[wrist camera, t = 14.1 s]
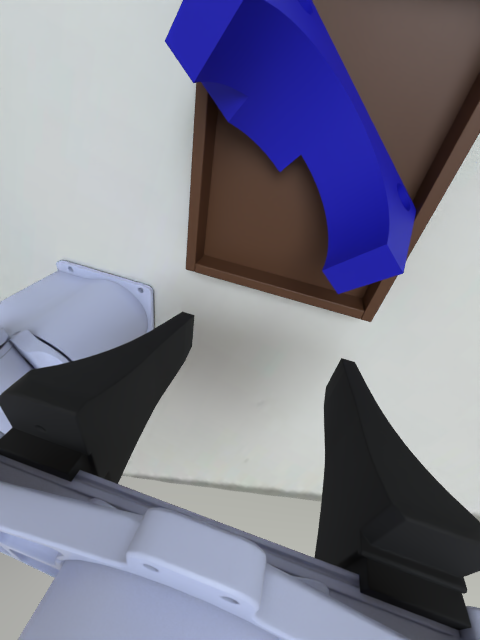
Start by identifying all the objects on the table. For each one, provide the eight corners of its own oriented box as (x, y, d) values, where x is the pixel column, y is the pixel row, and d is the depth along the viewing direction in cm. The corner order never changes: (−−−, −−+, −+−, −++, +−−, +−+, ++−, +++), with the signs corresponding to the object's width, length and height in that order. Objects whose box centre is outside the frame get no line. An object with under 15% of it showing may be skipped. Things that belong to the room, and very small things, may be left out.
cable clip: (224, 59, 14) (148, 77, 11) (290, -43, 11) (212, -65, 8) (340, 244, 18) (312, 302, 15) (416, 209, 15) (403, 273, 11)
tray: (197, 257, 22) (185, 269, 20) (226, -85, 12) (207, -123, 10) (367, 304, 21) (370, 322, 19) (551, -40, 11) (599, -75, 9)
